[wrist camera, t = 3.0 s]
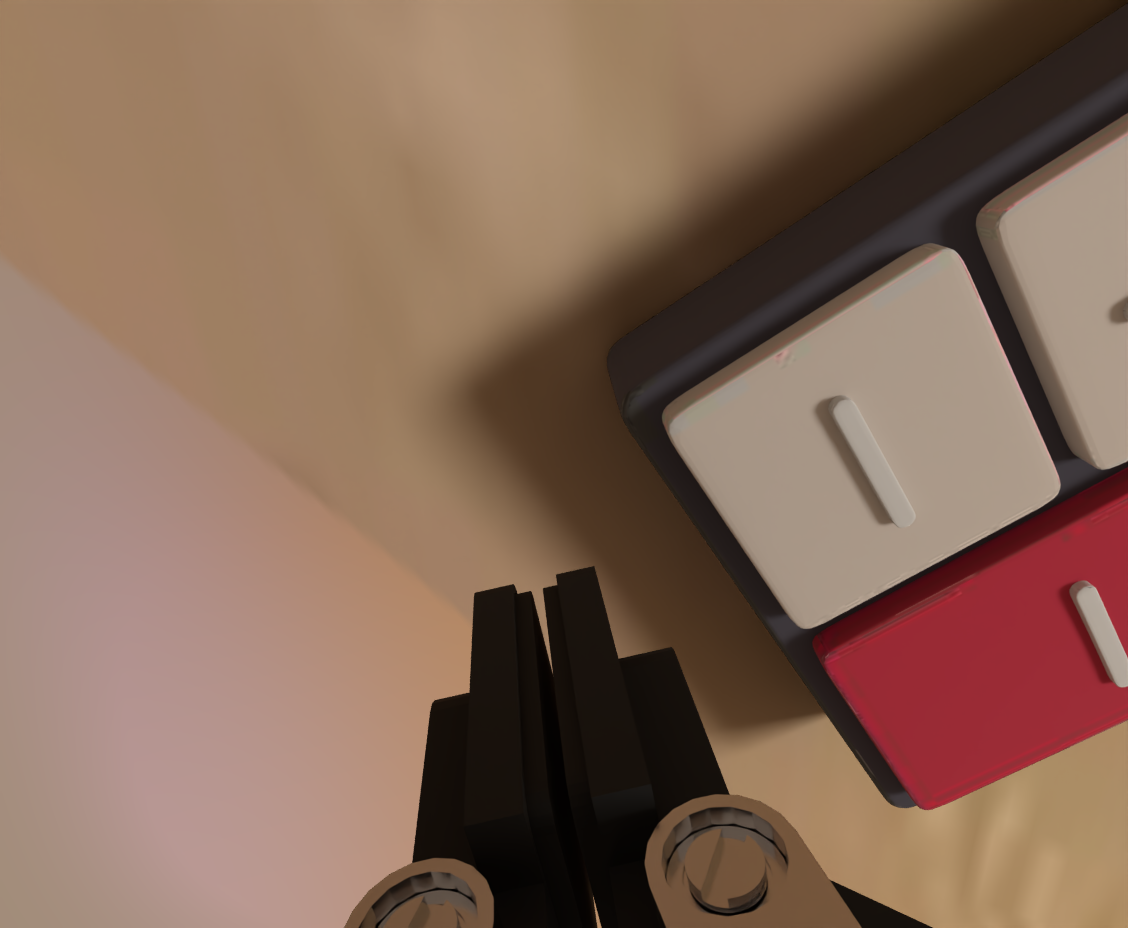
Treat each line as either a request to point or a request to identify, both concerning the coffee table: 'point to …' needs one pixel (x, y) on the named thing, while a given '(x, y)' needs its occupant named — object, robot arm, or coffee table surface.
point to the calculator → (927, 432)
